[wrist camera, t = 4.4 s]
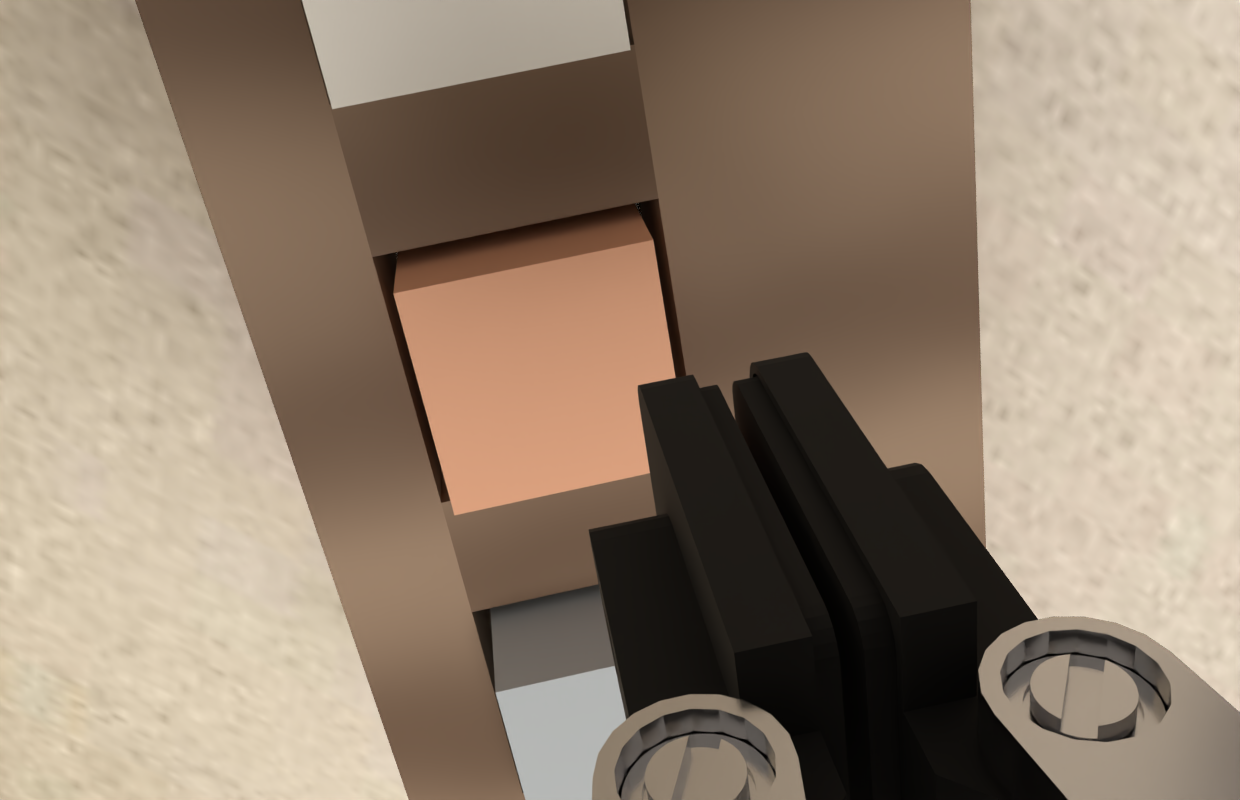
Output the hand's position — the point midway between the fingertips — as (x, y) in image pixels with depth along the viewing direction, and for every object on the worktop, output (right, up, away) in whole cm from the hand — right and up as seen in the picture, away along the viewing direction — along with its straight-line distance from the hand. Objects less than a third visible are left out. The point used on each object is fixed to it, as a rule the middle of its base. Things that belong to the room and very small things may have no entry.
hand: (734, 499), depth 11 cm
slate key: (-1, -4, +12) cm, 13 cm away
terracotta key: (-3, +3, +10) cm, 11 cm away
